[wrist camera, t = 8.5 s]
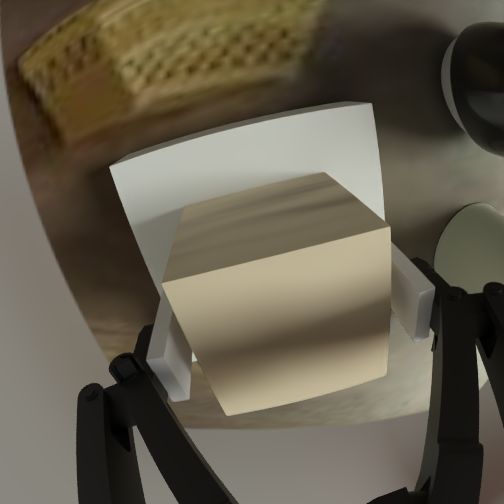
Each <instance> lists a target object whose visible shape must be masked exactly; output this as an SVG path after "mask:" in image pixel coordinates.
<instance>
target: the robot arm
mask: <svg viewBox="0 0 504 504" xmlns="http://www.w3.org/2000/svg"><path fill="white" fill-rule="evenodd" d="M391 309H392V310H393V312H394V313H395V315H396V316H397V318H398V319H399V321H400V322H401V324H402V325H403V327H404V328H405V330H406V331H407V333H408V334H409V336H410V337H411V339H412V340H413V342H416V341H419V340H422V339H424V338H427V337H428V336H429V330H430V328H431V329H432V330H433V332H434V333H435V334H434V339H433V344H432V349H431V351H433V368H432V385H431V397H430V408H429V418H428V426H427V433H426V440H425V447H424V453H423V459H422V464H421V470H420V474H419V478H418V480H417V483H416V486H415V490H414V491H411V492H408V491H407V488H406V487H404V488H402V489H399V490H397V491H394V492H391V493H389V494H386V495H383V496H380V497H377V498H376V499H374V500H372V501H370V502H369V503H367V504H478V502H479V495H480V488H481V478H482V468H483V455H484V454H483V445H482V444H480V443H479V384H478V366H477V354H476V346H477V348H478V351H479V353H480V356H481V359H482V361H483V364H484V367H485V369H486V372H487V375H488V378H489V380H490V384H491V387H492V389H493V393H494V396H495V399H496V402H497V406H498V409H499V413H500V416H501V420H502V423H503V427H504V285H503V284H501V283H499V282H489V283H486V284H485V285H484V288H483V292H482V293H473V294H468V293H467V291H465V290H464V289H463V288H460V287H456V286H450V285H449V284H448V283H447V282H446V281H445V280H444V279H443V278H442V277H441V276H440V275H439V274H438V273H437V272H436V271H435V270H434V269H433V268H431V266H430V265H429V264H428V263H427V262H426V261H424V260H422V259H420V258H413V259H410V260H409V259H408V258H407V257H406V256H405V255H404V254H403V253H402V252H401V251H400V250H399V249H398V248H397V247H396V246H395V245H394V244H393V243H392V242H391ZM135 348H136V349H135V350H134V354H133V353H130V352H129V353H123V354H121V355H118V356H117V357H116V358H114V359H113V360H112V362H111V363H110V365H109V372H110V373H111V375H112V376H113V377H114V379H115V380H116V382H117V384H115V385H112V386H110V387H107V388H105V389H103V387H102V386H101V385H100V384H98V383H91V384H89V385H87V386H85V387H84V388H83V389H82V390H81V391H80V393H79V395H78V402H77V430H76V431H77V432H76V437H77V438H76V456H77V458H76V459H77V486H78V501H79V504H146V502H145V498H144V493H143V488H142V484H141V478H140V473H139V467H138V461H137V456H136V449H135V443H134V436H133V429H132V427H133V426H135V425H137V427H138V430H139V432H140V434H141V435H142V438H143V440H144V442H145V444H146V446H147V448H148V450H149V452H150V454H151V456H152V457H153V459H154V461H155V463H156V465H157V467H158V469H159V470H160V472H161V474H162V476H163V478H164V479H165V481H166V483H167V485H168V486H169V488H170V490H171V491H172V493H173V495H174V496H175V498H176V500H177V501H178V503H179V504H239V503H238V502H237V501H236V500H235V498H234V497H233V496H232V494H231V493H230V492H229V491H228V489H227V488H226V487H225V485H224V484H223V483H222V482H221V480H220V479H219V478H218V476H217V475H216V474H215V473H214V471H213V470H212V468H211V467H210V466H209V464H208V463H207V461H206V460H205V459H204V457H203V456H202V454H201V453H200V451H199V450H198V449H197V447H196V446H195V444H194V443H193V441H192V440H191V439H190V437H189V435H188V434H187V432H186V431H185V429H184V428H183V426H182V425H181V423H180V422H179V420H178V418H177V417H176V415H175V414H174V412H173V411H172V409H171V407H170V406H169V404H168V403H167V398H168V395H169V397H170V398H171V400H172V401H173V402H175V401H183V400H189V395H190V379H191V365H192V352H193V351H192V349H191V347H190V345H189V343H188V341H187V339H186V336H185V334H184V332H183V330H182V328H181V326H180V324H179V322H178V320H177V317H176V315H175V313H174V311H173V309H172V306H171V304H170V302H169V300H168V298H167V295H166V293H165V291H164V289H163V292H162V296H161V299H160V303H159V307H158V311H157V315H156V319H155V323H154V324H152V325H147V326H144V328H143V329H142V330H141V332H140V333H139V335H138V339H137V343H136V346H135Z"/></svg>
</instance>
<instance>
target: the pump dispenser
mask: <svg viewBox="0 0 504 504" xmlns="http://www.w3.org/2000/svg"><path fill="white" fill-rule="evenodd" d="M441 83H442V89H443V94H444V97H445V100H446V103H447V106H448V108H449V110H450V112H451V114H452V116H453V117H454V119H455V120H456V122H457V123H458V124H459V126H460V127H461V128H462V129H463V130H464V131H465V132H466V133H467V134H468V135H469V136H470V137H471V138H472V139H473V141H474V142H475V143H476V144H477V145H479V146H480V147H481V148H482V149H484V150H486V151H487V152H490V153H492V154H495V155H498V156H501V157H504V22H480V23H475V24H472V25H470V26H468V27H467V28H465V29H464V30H463V31H462V32H461V34H460V35H458V36H457V37H456V38H455V39H454V40H453V41H452V43H451V44H450V45H449V47H448V48H447V50H446V53H445V55H444V58H443V62H442V68H441Z"/></svg>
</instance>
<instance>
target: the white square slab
mask: <svg viewBox="0 0 504 504" xmlns="http://www.w3.org/2000/svg"><path fill="white" fill-rule="evenodd" d="M109 168H110V171H111V174H112V177H113V180H114V183H115V185H116V188H117V191H118V194H119V197H120V199H121V202H122V205H123V207H124V210H125V213H126V215H127V218H128V221H129V223H130V226H131V228H132V231H133V233H134V236H135V239H136V241H137V243H138V246H139V248H140V251H141V253H142V256H143V258H144V260H145V263H146V265H147V268H148V270H149V272H150V275H151V277H152V279H153V281H154V284H155V286H156V288H157V290H158V293H159V295H160V297H161V296H162V292H163V286H162V284H161V282H162V279H163V275H164V272H165V269H166V265H167V262H168V258H169V255H170V252H171V249H172V245H173V242H174V239H175V236H176V232H177V229H178V226H179V223H180V220H181V217H182V214H183V211H184V208H185V206H187V205H191V204H194V203H198V202H202V201H206V200H209V199H213V198H217V197H221V196H224V195H228V194H232V193H236V192H240V191H244V190H248V189H252V188H256V187H260V186H264V185H269V184H273V183H277V182H281V181H286V180H290V179H294V178H299V177H303V176H308V175H312V174H317V173H321V172H325V173H327V174H328V175H329V176H330V177H332V178H333V179H334V180H336V181H337V182H338V183H339V184H341V185H342V186H343V187H344V188H346V189H347V190H348V191H349V192H350V193H352V194H353V195H354V196H355V197H357V198H358V199H359V200H360V201H361V202H363V203H364V204H365V205H366V206H367V207H369V208H370V209H371V210H372V211H373V212H374V213H376V214H377V215H378V216H379V217H380V218H381V219H383V220H384V221H385V217H384V201H383V189H382V178H381V168H380V158H379V150H378V142H377V134H376V127H375V121H374V114H373V108H372V103H364V102H351V101H344V102H337V103H331V104H324V105H318V106H312V107H306V108H301V109H295V110H290V111H285V112H280V113H275V114H270V115H265V116H261V117H256V118H252V119H247V120H243V121H239V122H235V123H231V124H227V125H223V126H219V127H215V128H211V129H208V130H204V131H200V132H197V133H193V134H190V135H186V136H183V137H180V138H176V139H173V140H170V141H167V142H163V143H160V144H157V145H154V146H151V147H148V148H145V149H142V150H139V151H136V152H133V153H130V154H128V155H126V156H125V157H123V158H122V159H120V160H119V161H117V162H115V163H114V164H112V165H111V166H109ZM193 361H197V359H196V357H195V355H194V353H193V352H192V362H193Z"/></svg>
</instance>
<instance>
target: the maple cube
mask: <svg viewBox="0 0 504 504" xmlns="http://www.w3.org/2000/svg"><path fill="white" fill-rule="evenodd" d="M161 284H162V286H163V289H164V291H165V293H166V295H167V298H168V300H169V302H170V304H171V306H172V309H173V311H174V313H175V315H176V317H177V320H178V322H179V324H180V326H181V328H182V330H183V332H184V334H185V336H186V339H187V341H188V343H189V345H190V347H191V349H192V351H193V353H194V355H195V357H196V359H197V361H198V363H199V365H200V367H201V369H202V371H203V373H204V375H205V376H206V378H207V380H208V382H209V384H210V386H211V388H212V390H213V392H214V394H215V395H216V397H217V399H218V401H219V403H220V405H221V406H222V408H223V410H224V412H225V414H226V415H227V416H229V415H235V414H241V413H246V412H251V411H257V410H262V409H266V408H271V407H276V406H280V405H285V404H289V403H293V402H297V401H301V400H305V399H309V398H313V397H317V396H321V395H324V394H328V393H332V392H335V391H339V390H342V389H345V388H349V387H352V386H355V385H358V384H361V383H365V382H368V381H371V380H374V379H377V378H380V377H382V376H385V375H386V371H387V361H388V348H389V333H390V313H391V229H390V226H389V225H388V224H387V223H386V222H385V221H384V220H383V219H381V218H380V217H379V216H378V215H377V214H376V213H374V212H373V211H372V210H371V209H370V208H369V207H367V206H366V205H365V204H364V203H363V202H361V201H360V200H359V199H358V198H357V197H355V196H354V195H353V194H352V193H350V192H349V191H348V190H347V189H346V188H344V187H343V186H342V185H341V184H339V183H338V182H337V181H336V180H334V179H333V178H332V177H330V176H329V175H328V174H327V173H325V172H321V173H317V174H312V175H308V176H303V177H299V178H294V179H290V180H286V181H281V182H277V183H273V184H269V185H264V186H260V187H256V188H252V189H248V190H244V191H240V192H236V193H232V194H228V195H224V196H221V197H217V198H213V199H209V200H206V201H202V202H198V203H194V204H191V205H187V206H185V208H184V211H183V214H182V217H181V220H180V223H179V226H178V229H177V232H176V236H175V239H174V242H173V245H172V249H171V252H170V255H169V258H168V262H167V265H166V269H165V272H164V275H163V279H162V282H161Z"/></svg>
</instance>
